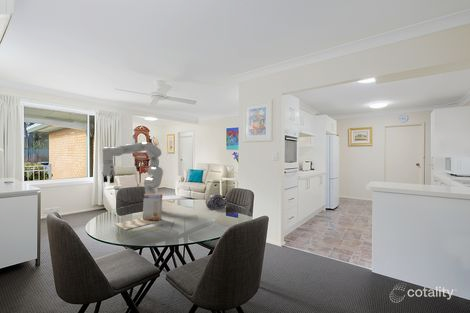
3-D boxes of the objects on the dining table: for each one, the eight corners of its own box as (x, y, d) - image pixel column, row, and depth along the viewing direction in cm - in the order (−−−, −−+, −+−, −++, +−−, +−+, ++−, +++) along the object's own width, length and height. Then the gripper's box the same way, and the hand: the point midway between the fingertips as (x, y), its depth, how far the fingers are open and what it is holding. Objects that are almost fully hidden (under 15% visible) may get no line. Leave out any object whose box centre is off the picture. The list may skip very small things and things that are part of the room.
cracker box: (161, 218, 196) (162, 193, 197) (158, 220, 190) (159, 194, 191) (145, 218, 198) (146, 193, 198) (142, 219, 192) (143, 194, 192)
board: (142, 218, 198) (142, 217, 198) (153, 223, 184) (153, 222, 184) (114, 224, 182) (114, 223, 182) (125, 230, 168) (125, 229, 168)
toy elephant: (223, 207, 244) (221, 192, 246) (230, 207, 228) (228, 191, 230) (205, 210, 235) (203, 195, 237) (210, 210, 220) (208, 194, 222)
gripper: (118, 162, 194) (118, 182, 195) (106, 161, 204) (107, 181, 204) (109, 162, 188) (110, 183, 188) (98, 162, 197) (98, 182, 198)
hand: (108, 182), depth 196 cm, fingers open, 9 cm apart
